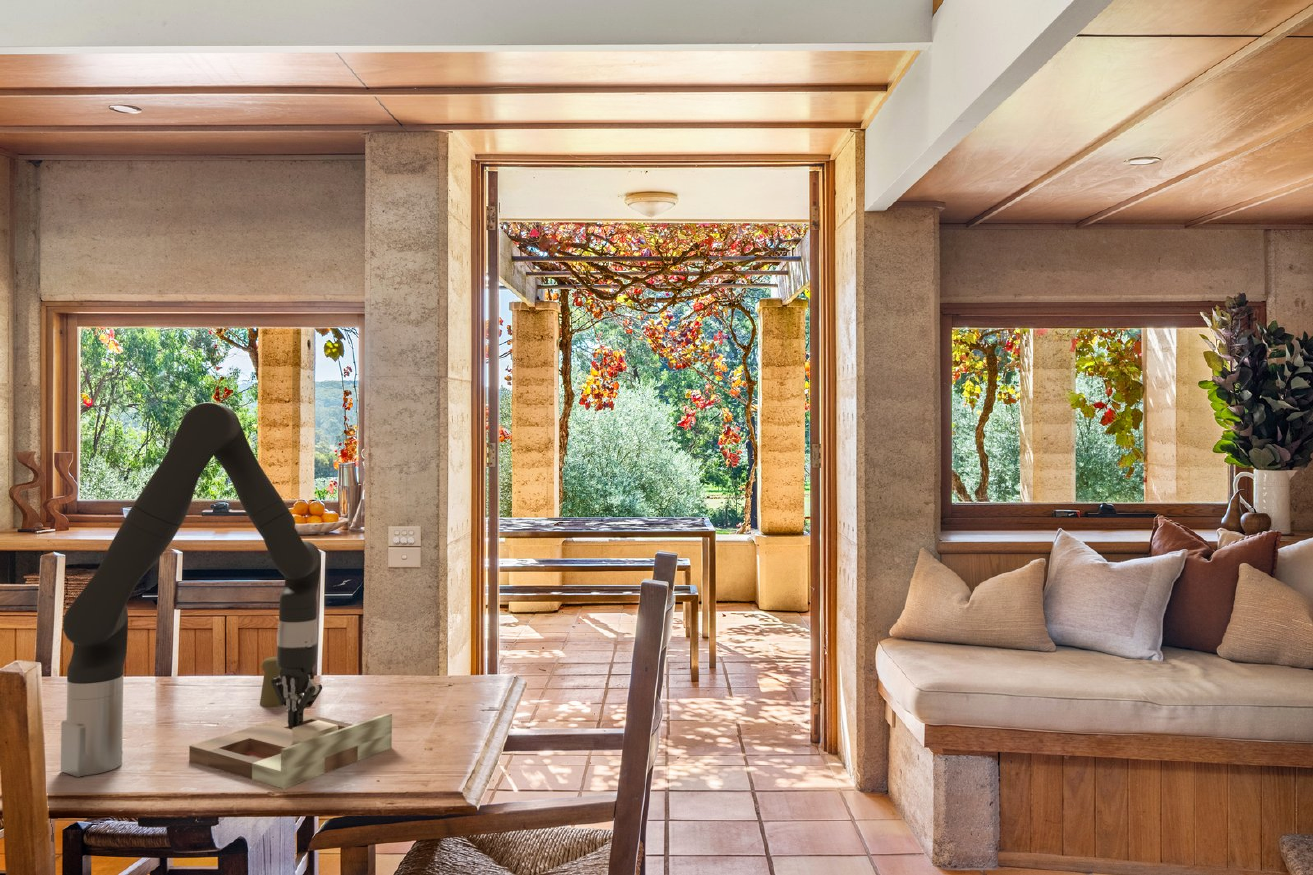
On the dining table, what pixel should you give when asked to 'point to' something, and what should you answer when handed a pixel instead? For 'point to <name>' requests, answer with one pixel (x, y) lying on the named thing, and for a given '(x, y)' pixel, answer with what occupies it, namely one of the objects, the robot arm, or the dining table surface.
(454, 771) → the dining table surface
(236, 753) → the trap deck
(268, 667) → the cork
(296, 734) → the block
